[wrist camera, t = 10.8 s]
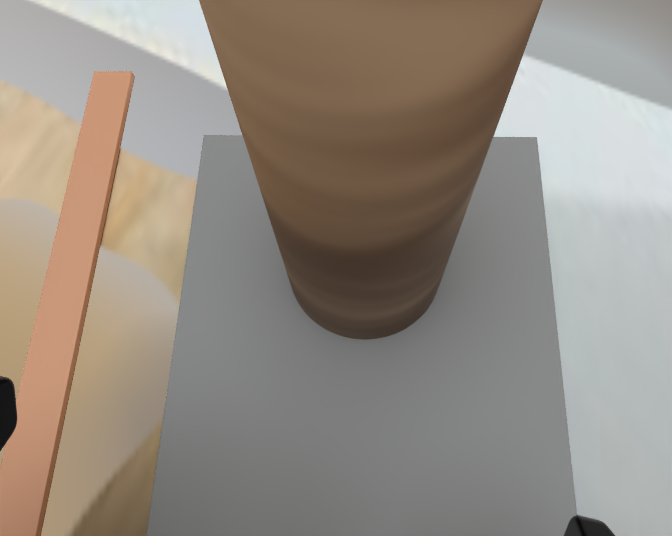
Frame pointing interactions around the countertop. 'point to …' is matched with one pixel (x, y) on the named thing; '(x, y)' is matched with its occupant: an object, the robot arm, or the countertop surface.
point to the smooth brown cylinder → (368, 138)
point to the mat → (365, 382)
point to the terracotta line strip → (62, 310)
